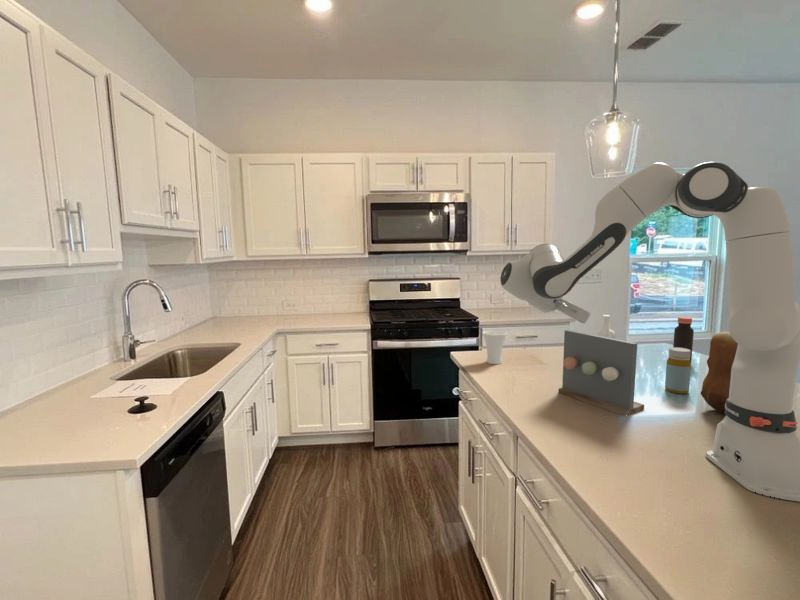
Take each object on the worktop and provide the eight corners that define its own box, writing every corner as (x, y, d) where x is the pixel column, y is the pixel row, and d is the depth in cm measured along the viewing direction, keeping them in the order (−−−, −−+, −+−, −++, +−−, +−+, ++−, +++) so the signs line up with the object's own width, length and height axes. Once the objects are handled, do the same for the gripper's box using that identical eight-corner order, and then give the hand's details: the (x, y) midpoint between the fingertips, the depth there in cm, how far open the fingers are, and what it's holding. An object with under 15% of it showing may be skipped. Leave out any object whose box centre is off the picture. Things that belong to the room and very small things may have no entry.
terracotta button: (573, 370, 135) (573, 359, 135) (563, 367, 138) (563, 356, 138) (578, 369, 136) (578, 358, 136) (567, 366, 140) (568, 355, 139)
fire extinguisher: (595, 384, 151) (598, 317, 148) (594, 374, 162) (597, 312, 159) (615, 386, 148) (619, 319, 145) (613, 376, 159) (616, 313, 156)
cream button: (613, 382, 123) (614, 369, 123) (601, 378, 126) (602, 366, 126) (618, 381, 124) (619, 368, 124) (606, 377, 128) (606, 365, 127)
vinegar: (668, 362, 179) (671, 317, 176) (679, 360, 181) (683, 316, 178) (683, 366, 172) (686, 319, 170) (695, 364, 174) (698, 318, 172)
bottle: (692, 395, 139) (696, 352, 137) (669, 393, 141) (673, 351, 139) (683, 388, 146) (686, 347, 144) (661, 387, 147) (664, 346, 146)
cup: (481, 364, 178) (481, 334, 176) (483, 358, 188) (483, 329, 186) (505, 366, 175) (506, 335, 173) (506, 360, 185) (507, 330, 183)
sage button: (592, 376, 129) (593, 364, 129) (581, 373, 132) (582, 361, 132) (597, 375, 130) (598, 362, 130) (586, 371, 134) (586, 360, 133)
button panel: (625, 416, 123) (629, 344, 120) (558, 392, 143) (560, 331, 140) (643, 409, 128) (648, 340, 125) (576, 387, 148) (579, 327, 145)
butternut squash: (752, 410, 126) (760, 330, 123) (763, 426, 115) (773, 339, 112) (697, 401, 133) (703, 326, 130) (702, 416, 122) (709, 334, 119)
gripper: (571, 296, 113) (608, 317, 116) (536, 281, 132) (569, 300, 136) (559, 315, 114) (596, 336, 117) (526, 298, 133) (559, 316, 137)
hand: (581, 316), depth 126 cm, fingers closed
